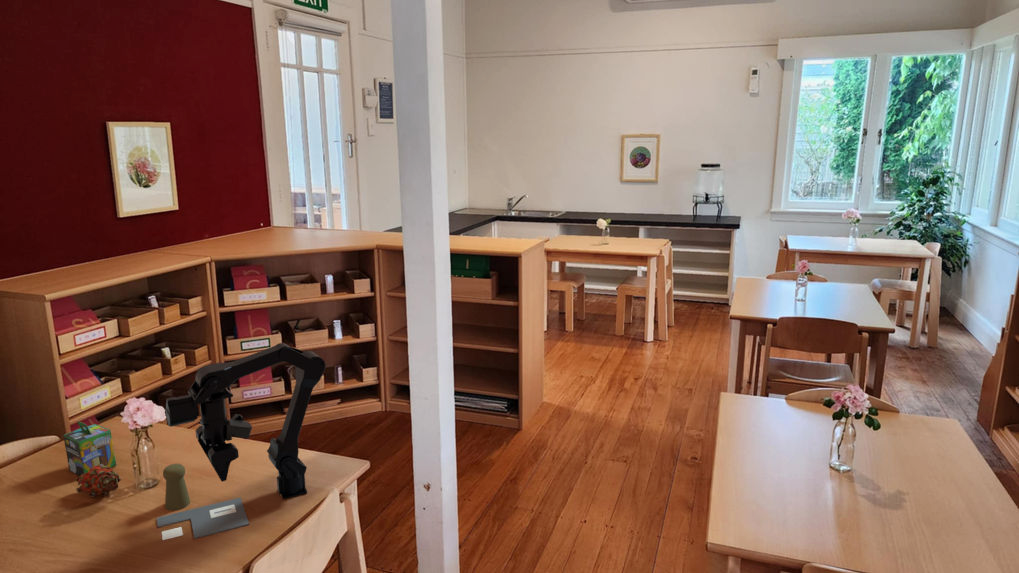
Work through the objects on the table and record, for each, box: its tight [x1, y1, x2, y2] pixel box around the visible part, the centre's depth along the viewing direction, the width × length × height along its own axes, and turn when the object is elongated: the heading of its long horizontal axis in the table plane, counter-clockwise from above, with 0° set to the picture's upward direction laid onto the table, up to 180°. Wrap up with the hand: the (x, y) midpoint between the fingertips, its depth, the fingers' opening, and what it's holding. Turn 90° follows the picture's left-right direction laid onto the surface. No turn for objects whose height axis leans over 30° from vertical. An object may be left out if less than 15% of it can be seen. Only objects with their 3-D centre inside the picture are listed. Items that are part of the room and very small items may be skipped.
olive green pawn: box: [162, 463, 191, 511], centre depth 175 cm, size 6×6×11 cm
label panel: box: [156, 497, 250, 541], centre depth 169 cm, size 20×14×1 cm
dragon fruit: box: [75, 465, 122, 498], centre depth 181 cm, size 8×8×12 cm
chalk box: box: [62, 420, 117, 477], centre depth 193 cm, size 9×9×15 cm
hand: (219, 473), depth 171 cm, fingers open, 9 cm apart
